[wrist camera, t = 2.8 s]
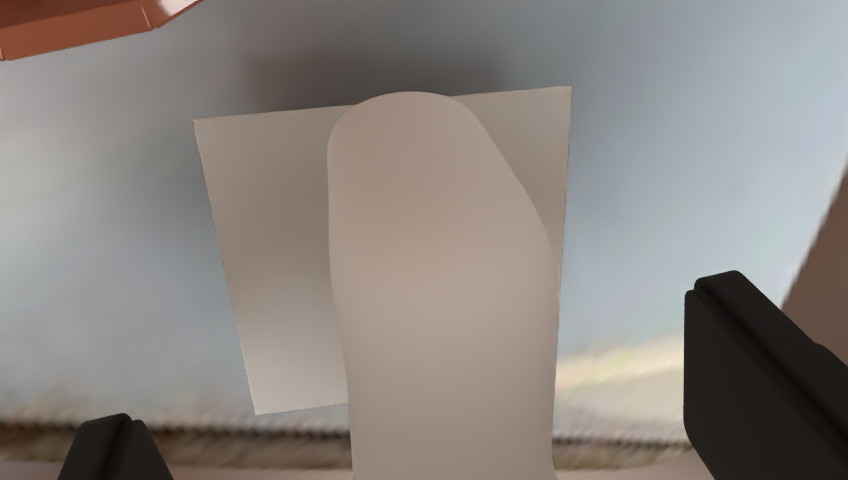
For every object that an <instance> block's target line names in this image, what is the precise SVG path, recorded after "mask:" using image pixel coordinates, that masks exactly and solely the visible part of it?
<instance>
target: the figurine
mask: <svg viewBox="0 0 848 480" xmlns="http://www.w3.org/2000/svg"><path fill="white" fill-rule="evenodd" d="M571 99H572V86H561V87H550V88H538V89H527V90H516V91H504V92H493V93H482V94H470V95H459V96H443V95H439V94H435V93H428V92H417V91H414V92H397V93H390V94H384V95H381V96H377V97H374V98H371V99H368V100H366V101H364V102H361V103H359V104H357V105H345V106H334V107H322V108H311V109H300V110H288V111H277V112H266V113H254V114H243V115H232V116H220V117H209V118H198V119H192V122H193V127H194V132H195V136H196V141H197V145H198V150H199V155H200V159H201V164H202V169H203V173H204V178H205V182H206V187H207V192H208V196H209V201H210V206H211V210H212V215H213V219H214V224H215V229H216V233H217V238H218V243H219V247H220V252H221V256H222V261H223V266H224V270H225V275H226V279H227V284H228V289H229V293H230V298H231V303H232V307H233V312H234V316H235V321H236V326H237V330H238V335H239V340H240V344H241V349H242V353H243V358H244V363H245V367H246V372H247V377H248V381H249V386H250V390H251V395H252V400H253V404H254V409H255V414H256V415H262V414H269V413H277V412H285V411H292V410H300V409H307V408H315V407H322V406H330V405H338V404H345V403H349V417H350V432H351V449H352V468H353V480H557V477H556V473H555V470H554V466H553V461H552V457H551V445H552V428H553V410H554V393H555V376H556V359H557V343H558V327H559V305H560V288H561V271H562V254H563V237H564V220H565V202H566V185H567V168H568V151H569V134H570V117H571Z"/></svg>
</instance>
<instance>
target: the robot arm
mask: <svg viewBox="0 0 848 480" xmlns="http://www.w3.org/2000/svg"><path fill="white" fill-rule="evenodd" d="M683 419H684V426H685V430H686V433H687V436H688V438H689V440H690V442H691V444H692V445H693V447H694V448H695V450H696V451H697V453H698V455H699V456H700V458H701V459H702V461H703V462H704V464H705V465H706V467H707V468H708V470H709V471H710V473H711V474H712V476H713V477H714V479H715V480H848V367H847V366H846V365H845V364H844V363H843V362H842V361H841V360H840V359H839V358H838V357H837V356H836V355H834V354H833V353H832V352H831V351H830V350H828V349H827V348H826V347H824V346H823V345H821V344H817V343H814V342H813V341H812V340H811V339H810V338H809V337H808V336H807V335H806V334H805V333H804V332H803V331H802V330H801V329H800V328H798V327H797V326H796V325H795V324H794V323H793V322H792V321H791V320H790V319H789V318H788V317H787V316H786V315H785V314H784V313H783V312H782V311H781V310H780V309H779V308H778V307H777V306H775V305H774V304H773V303H772V302H771V301H770V300H769V299H768V298H767V297H766V296H765V295H764V294H763V293H762V292H761V291H760V290H759V289H758V288H757V287H755V286H754V285H753V284H752V283H751V282H750V281H749V280H748V279H747V278H746V277H745V276H744V275H743V274H742V273H740V272H739V271H735V270H732V271H728V272H724V273H719V274H715V275H711V276H707V277H702V278H699V279H697V280H696V282H695V285H694V289H693V290H689V291H687V292H686V294H685V309H684V406H683ZM57 480H174V479H173V478H172V475H171V474H170V471H169V469H168V468H167V466H166V464H165V462H164V460H163V458H162V456H161V454H160V452H159V450H158V448H157V446H156V444H155V442H154V440H153V438H152V437H151V435H150V433H149V431H148V429H147V427H146V425H145V424H144V422H143V421H141V420H134V421H132V419H131V418H130V416H128V415H127V414H126V413H120V414H116V415H111V416H107V417H103V418H99V419H94V420H90V421H86V422H84V423H83V424H81V426H80V427H79V429H78V431H77V434H76V436H75V438H74V441H73V443H72V446H71V448H70V450H69V453H68V455H67V458H66V460H65V463H64V465H63V467H62V470H61V472H60V475H59V477H58V479H57Z"/></svg>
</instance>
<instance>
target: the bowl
mask: <svg viewBox="0 0 848 480" xmlns="http://www.w3.org/2000/svg"><path fill="white" fill-rule="evenodd" d="M202 1H203V0H0V61H6V60H9V61H12V60H17V59H22V58H26V57H31V56H36V55H41V54H45V53H50V52H55V51H59V50H64V49H69V48H73V47H78V46H83V45H87V44H92V43H97V42H101V41H106V40H111V39H115V38H120V37H125V36H130V35H134V34H139V33H144V32H148V31H152V30H153V29H155V28H160V27H161V26H163V25H165V24H166V23H168V22H169V21H171V20H173V19H174V18H176V17H178V16H179V15H181V14H182V13H184V12H186V11H187V10H189V9H190V8H192V7H194V6H195V5H197V4H199V3H200V2H202Z"/></svg>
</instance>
